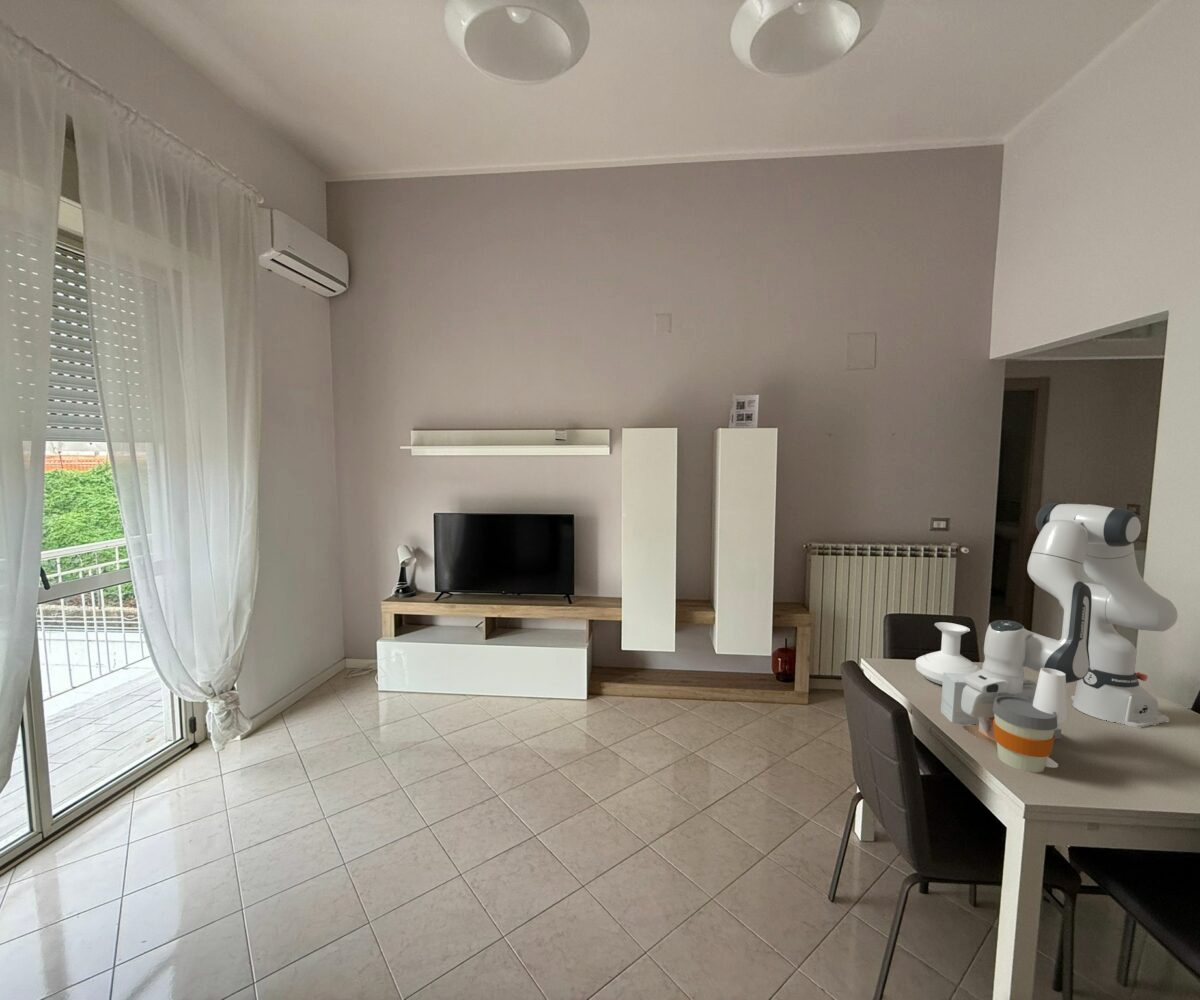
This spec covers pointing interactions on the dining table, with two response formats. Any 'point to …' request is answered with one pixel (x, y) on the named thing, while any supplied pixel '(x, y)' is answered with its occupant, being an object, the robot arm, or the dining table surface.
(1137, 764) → the dining table surface
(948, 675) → the supplement box
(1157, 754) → the dining table surface
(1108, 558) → the robot arm
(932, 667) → the candle holder
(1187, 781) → the dining table surface
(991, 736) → the collar
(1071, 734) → the dining table surface
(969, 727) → the stake board
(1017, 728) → the reusable coffee cup
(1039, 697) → the champagne flute
